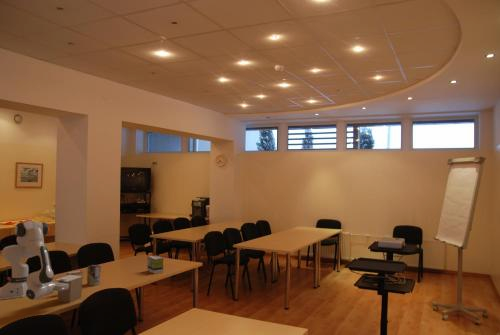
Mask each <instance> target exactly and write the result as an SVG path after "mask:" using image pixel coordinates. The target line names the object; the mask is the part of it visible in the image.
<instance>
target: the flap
mask: <svg viewBox="0 0 500 335" xmlns="http://www.w3.org/2000/svg"><path fill="white" fill-rule="evenodd" d="M80 277H82V278H83V275H82V276H75V275H68V276H67V275H65V276H63V277H59V278H57V279H54V282H58V281H62V282H69V281H72V280H74V279H77V278H80Z"/></svg>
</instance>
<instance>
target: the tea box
mask: <svg viewBox="0 0 500 335" xmlns="http://www.w3.org/2000/svg"><path fill="white" fill-rule="evenodd" d="M146 267H147V270H146V271H147V272H149V273H151V274H153V273H154V274H153V275H156V274H155V273H157V274H162V273H164V258H163V257H162V256H158V255H152V256H147V266H146Z"/></svg>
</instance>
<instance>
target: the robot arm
mask: <svg viewBox="0 0 500 335" xmlns="http://www.w3.org/2000/svg"><path fill="white" fill-rule="evenodd" d="M49 229H50V228H49V225H48V223H47V222H43V221H42V222H40V221H39V222H38V221H32V220H26V221H24V222H22V221H21V222H18V223H17V224H15V227H14V230H13V231H14V234H15V236H16V243H17V244H12V245H8V246H5V247H4V248H3V249H2V251H1V255H2V258H3V259H4V260H6V261H7V262H8V263H9V264H10V266H11V267H10V268H11V277H10V276H8V277H7V278H6V279H7V280H8V282H7V283H6V284H4V286H2V287H1V288H0V300H9V299H11V300H12V299H17V298H18V299H20V298H23V297H27V298H28V299H29V300H38V299H41V298H43V297H47V296H49V295H52V294H53V293H54V292H55V291H57V292H58V291H63V290H66V289H68V288H69V284H66V283H64V282H58V281H53V279H54V276H55V274H54V273H55V272H54V270H53V268H52V262H51V257H50V252H49V249H48V247H47V246H45V237H46V236H47V235H48V233H49ZM36 256H38V257H39V259H40V266H41V268H40V269H39V270H36V271H33V272H30V273H29V265H28V264H27V263H25V262H22V259H28V258H33V257H36Z"/></svg>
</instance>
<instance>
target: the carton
mask: <svg viewBox="0 0 500 335" xmlns="http://www.w3.org/2000/svg"><path fill="white" fill-rule="evenodd" d="M58 282H62V281H57V283H58ZM64 283H66V284H69V288H68V289H66V290H63V291H57V302H60V303H61V302H62V303H69V304H70V303H73V302H75V301H77V300H80V299H81V298H82V291H81V287H82V288H83V276H82V277H80V278H77V279H74V280H72V281H69V282H64Z"/></svg>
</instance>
